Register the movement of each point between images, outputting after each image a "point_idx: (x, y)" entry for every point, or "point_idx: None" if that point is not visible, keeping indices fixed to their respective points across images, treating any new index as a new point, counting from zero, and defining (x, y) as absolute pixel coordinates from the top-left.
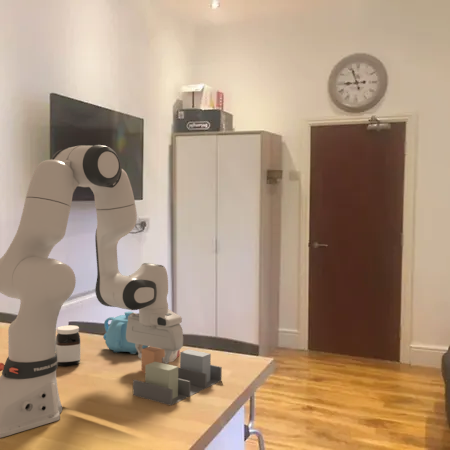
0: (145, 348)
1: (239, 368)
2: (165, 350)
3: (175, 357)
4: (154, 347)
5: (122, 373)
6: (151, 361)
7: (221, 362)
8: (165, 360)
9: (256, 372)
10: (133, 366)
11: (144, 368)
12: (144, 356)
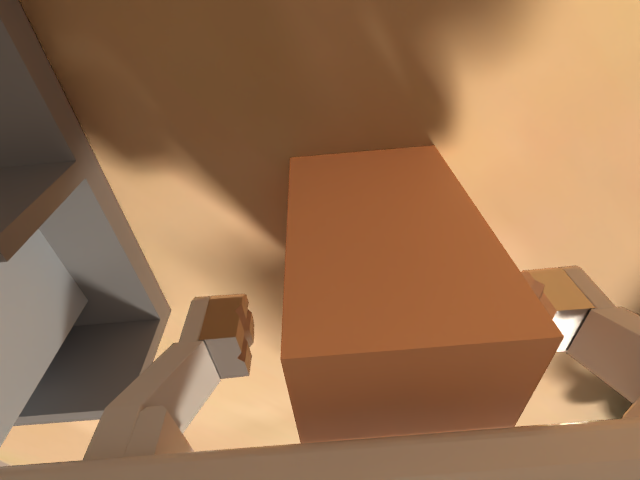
0: (518, 377)
1: None
2: (136, 443)
3: None
4: None
5: (631, 60)
6: (328, 243)
7: None
8: (186, 322)
9: (22, 464)
10: (603, 238)
11: (414, 179)
12: (458, 263)
